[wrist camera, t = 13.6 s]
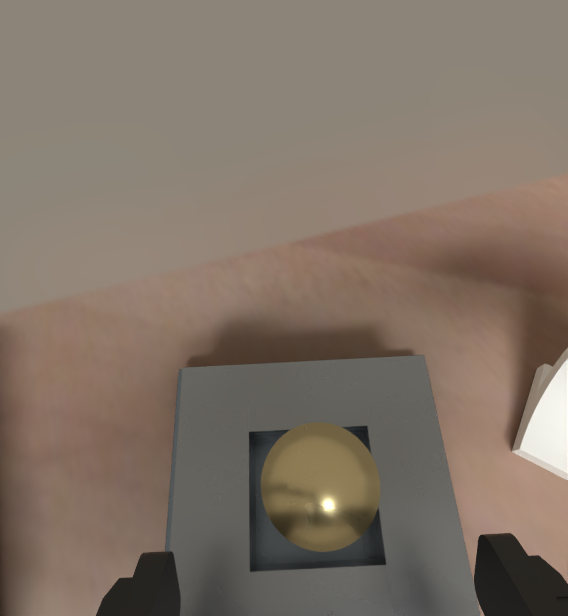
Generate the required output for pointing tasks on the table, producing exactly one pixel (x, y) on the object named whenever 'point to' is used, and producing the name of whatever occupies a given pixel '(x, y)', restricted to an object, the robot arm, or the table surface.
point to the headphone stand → (546, 419)
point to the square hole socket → (256, 523)
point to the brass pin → (320, 487)
